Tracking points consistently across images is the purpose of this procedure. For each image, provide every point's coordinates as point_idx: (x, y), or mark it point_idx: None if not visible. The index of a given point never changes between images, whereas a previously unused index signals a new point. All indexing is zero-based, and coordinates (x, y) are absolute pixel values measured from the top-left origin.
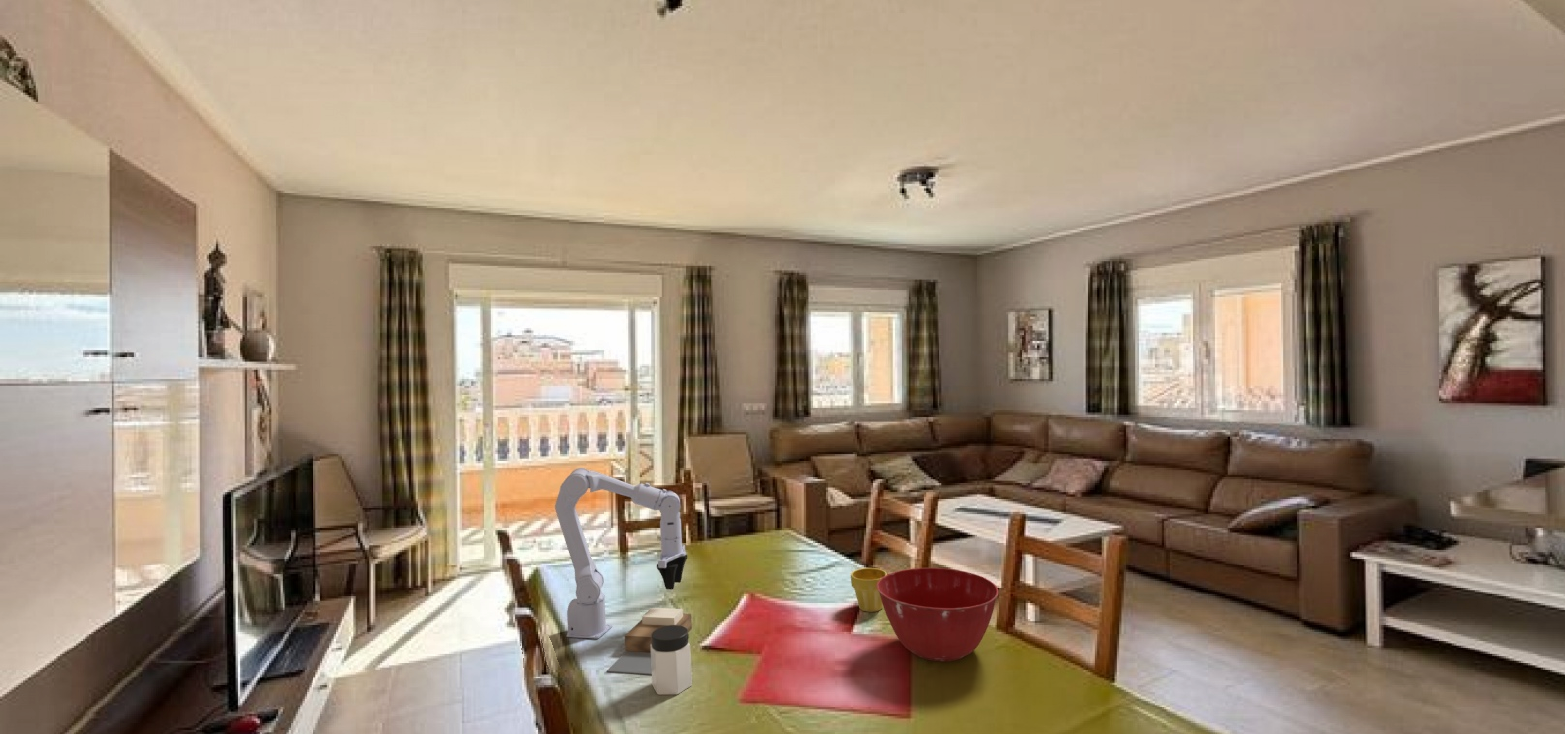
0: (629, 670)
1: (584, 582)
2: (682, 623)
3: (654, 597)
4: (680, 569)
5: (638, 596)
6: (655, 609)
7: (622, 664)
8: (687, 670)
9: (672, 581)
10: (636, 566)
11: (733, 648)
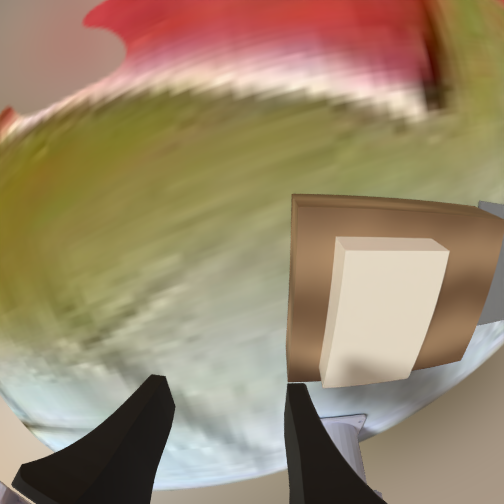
0: None
1: None
2: (410, 211)
3: (97, 382)
4: (127, 447)
5: (111, 410)
6: (343, 369)
7: (499, 303)
8: None
9: (324, 429)
10: (29, 413)
11: (418, 14)
